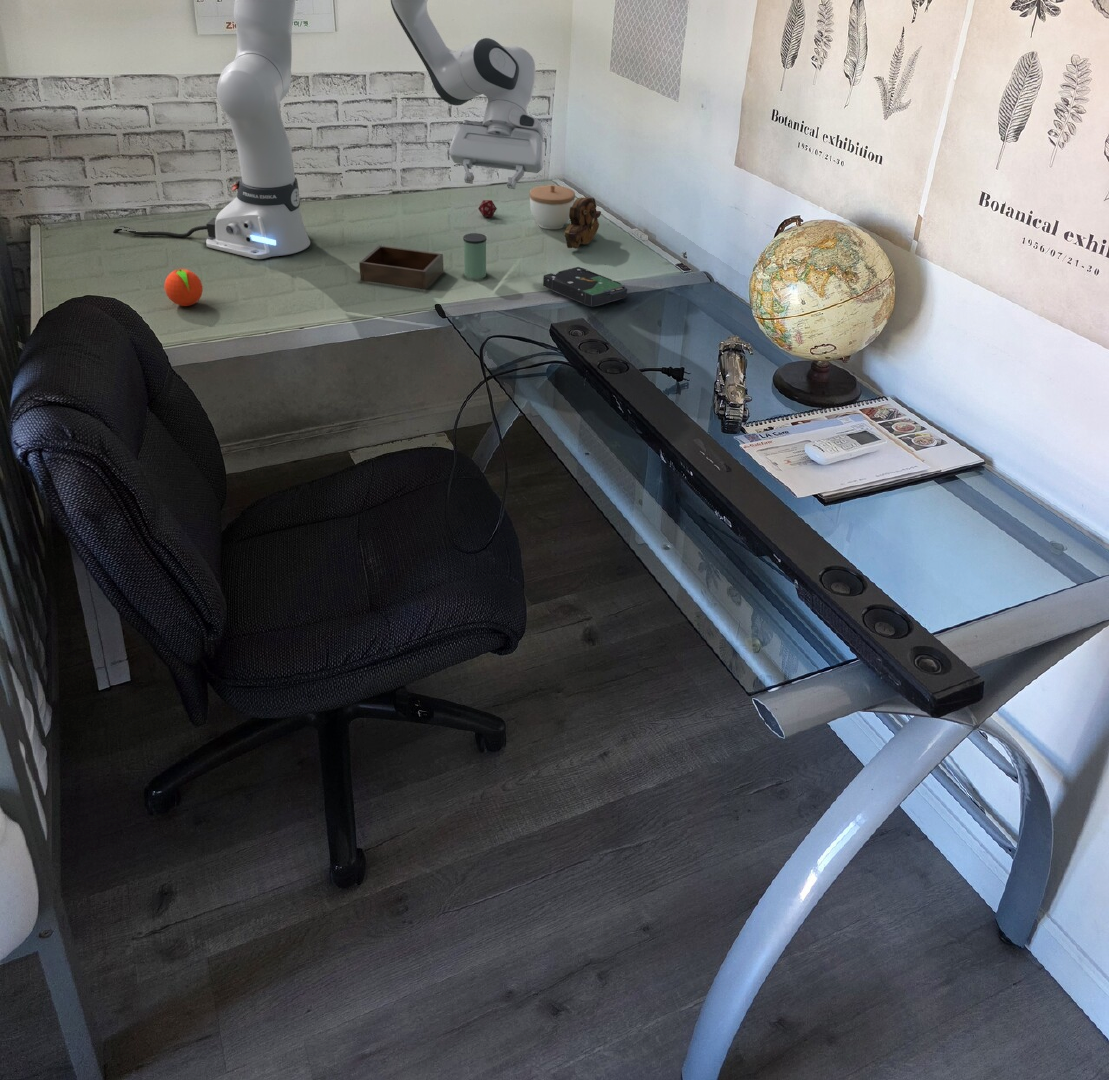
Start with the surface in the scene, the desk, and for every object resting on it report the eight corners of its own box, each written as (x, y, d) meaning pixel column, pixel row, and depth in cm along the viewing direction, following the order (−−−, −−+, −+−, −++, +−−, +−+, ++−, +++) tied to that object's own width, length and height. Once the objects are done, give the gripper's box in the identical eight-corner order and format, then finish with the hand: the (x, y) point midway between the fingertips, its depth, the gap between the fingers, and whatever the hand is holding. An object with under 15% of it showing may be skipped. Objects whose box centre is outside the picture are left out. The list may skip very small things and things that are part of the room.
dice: (477, 214, 241) (477, 197, 239) (496, 214, 242) (496, 197, 239) (478, 219, 238) (478, 203, 236) (497, 219, 239) (497, 203, 236)
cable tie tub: (460, 279, 209) (460, 239, 204) (468, 270, 213) (467, 232, 208) (482, 282, 208) (482, 242, 203) (489, 273, 212) (489, 234, 207)
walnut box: (360, 282, 206) (359, 262, 203) (380, 264, 214) (379, 245, 211) (426, 292, 203) (425, 272, 200) (443, 273, 211) (443, 254, 209)
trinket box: (568, 235, 232) (570, 194, 227) (524, 230, 234) (525, 190, 228) (577, 220, 241) (579, 180, 235) (534, 215, 242) (535, 176, 236)
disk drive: (541, 288, 206) (591, 308, 197) (542, 275, 204) (592, 294, 196) (577, 279, 212) (627, 297, 203) (578, 266, 211) (628, 284, 202)
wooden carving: (581, 257, 221) (583, 212, 215) (562, 253, 223) (564, 209, 217) (602, 233, 234) (605, 190, 228) (584, 230, 235) (586, 187, 229)
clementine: (211, 309, 193) (205, 274, 188) (175, 316, 190) (167, 281, 185) (199, 294, 198) (193, 260, 194) (164, 301, 195) (156, 266, 191)
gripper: (453, 111, 210) (439, 171, 208) (546, 121, 206) (532, 183, 204) (461, 127, 216) (446, 186, 214) (551, 138, 212) (537, 198, 211)
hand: (489, 184), depth 209 cm, fingers open, 8 cm apart
